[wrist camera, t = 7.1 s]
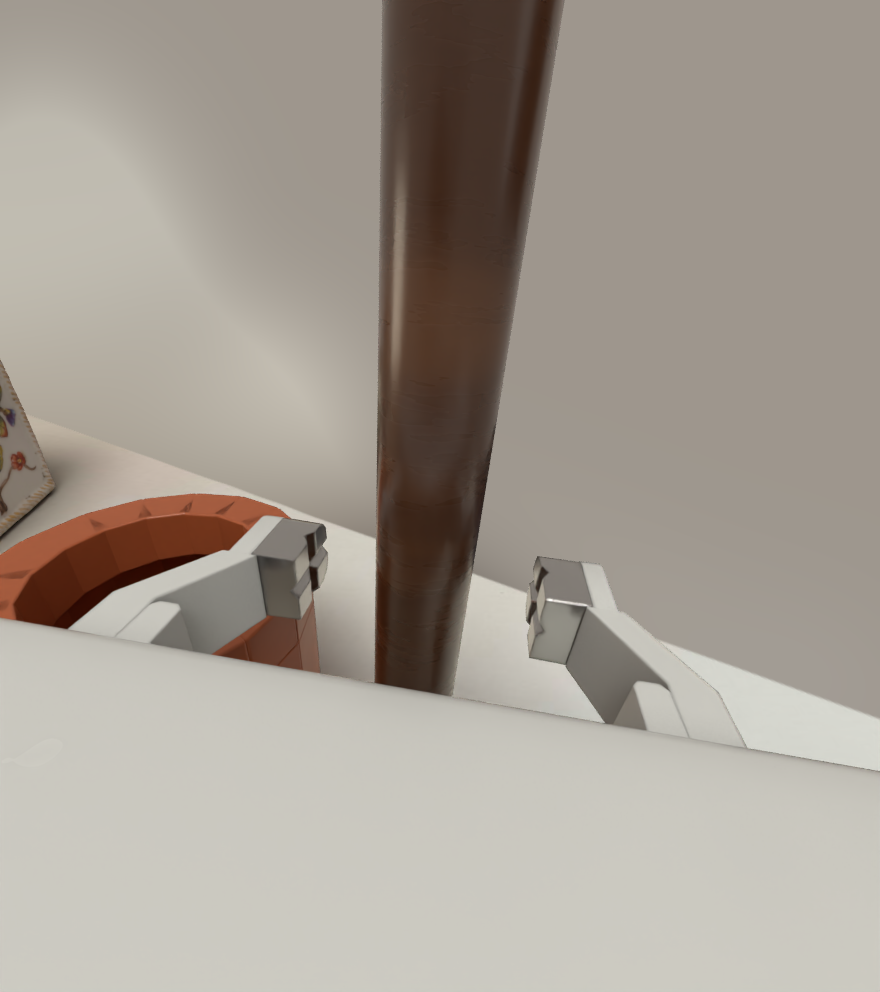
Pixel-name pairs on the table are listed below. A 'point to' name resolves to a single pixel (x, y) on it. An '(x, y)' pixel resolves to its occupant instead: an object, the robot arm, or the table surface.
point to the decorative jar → (18, 459)
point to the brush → (447, 299)
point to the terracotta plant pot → (144, 567)
